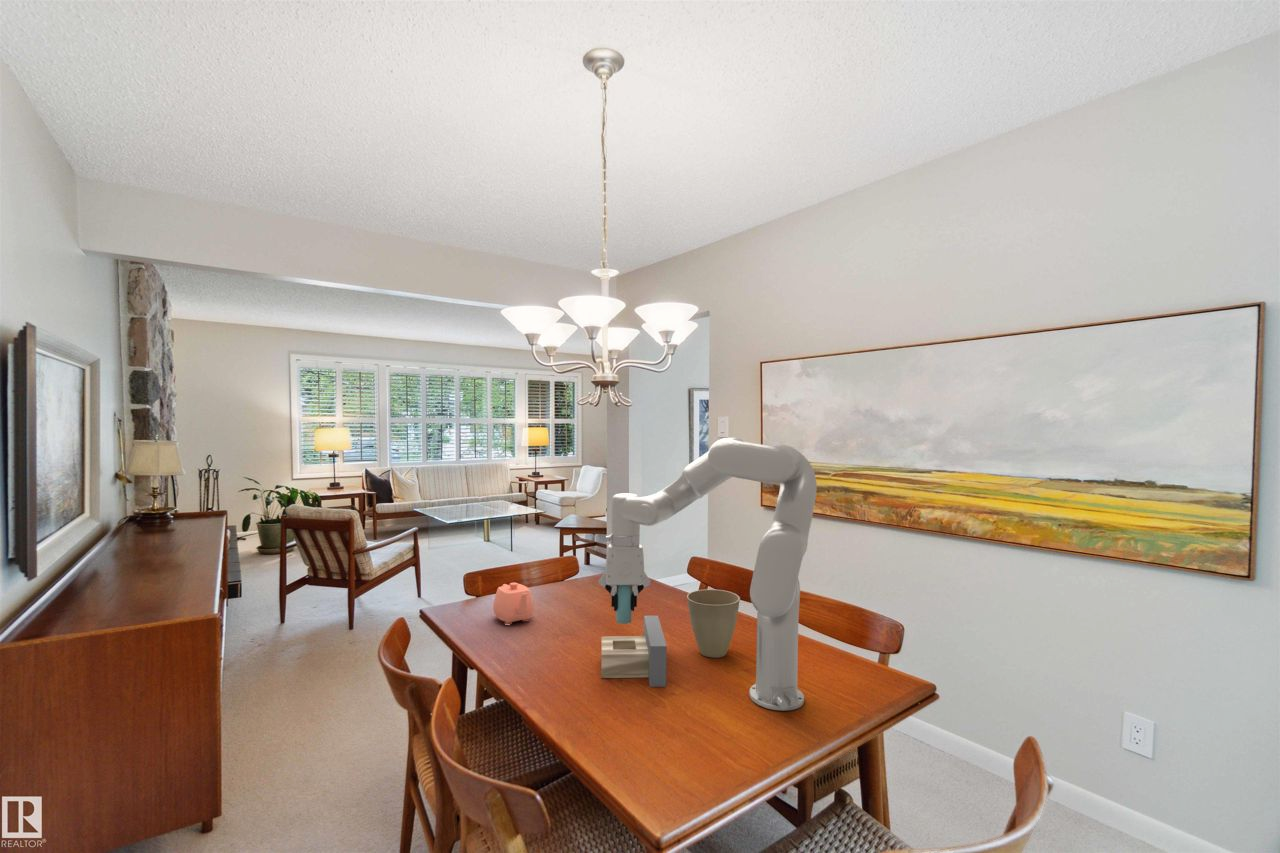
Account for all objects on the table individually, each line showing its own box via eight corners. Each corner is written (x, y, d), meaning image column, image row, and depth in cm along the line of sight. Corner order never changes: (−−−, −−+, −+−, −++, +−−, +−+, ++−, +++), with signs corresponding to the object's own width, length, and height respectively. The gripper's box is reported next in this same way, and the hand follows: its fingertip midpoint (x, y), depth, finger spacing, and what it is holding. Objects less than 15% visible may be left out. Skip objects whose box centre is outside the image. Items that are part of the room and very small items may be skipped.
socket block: (648, 677, 143) (648, 653, 143) (601, 678, 142) (601, 654, 142) (644, 657, 155) (645, 636, 155) (601, 658, 154) (601, 636, 154)
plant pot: (724, 639, 169) (724, 587, 169) (748, 659, 155) (749, 602, 155) (678, 645, 164) (678, 591, 164) (699, 666, 150) (700, 607, 150)
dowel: (631, 623, 147) (632, 585, 147) (616, 623, 147) (617, 585, 146) (630, 618, 151) (631, 581, 151) (616, 618, 151) (616, 581, 150)
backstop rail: (666, 686, 138) (666, 646, 138) (650, 686, 138) (650, 646, 138) (657, 650, 160) (657, 615, 160) (643, 650, 160) (643, 615, 160)
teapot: (485, 615, 188) (486, 579, 188) (519, 608, 195) (519, 574, 195) (508, 633, 172) (509, 594, 172) (544, 626, 178) (544, 588, 178)
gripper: (593, 543, 144) (592, 614, 144) (658, 543, 145) (656, 614, 145) (593, 537, 152) (592, 604, 152) (655, 537, 153) (654, 604, 153)
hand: (623, 608), depth 149 cm, fingers closed on dowel, 4 cm apart
